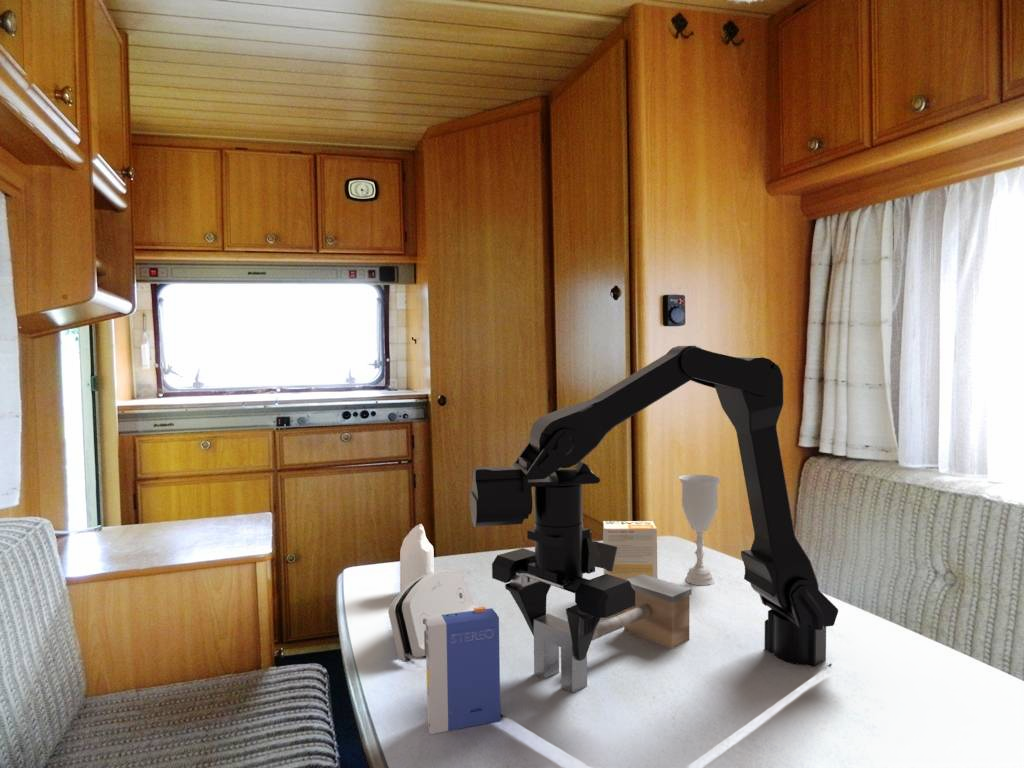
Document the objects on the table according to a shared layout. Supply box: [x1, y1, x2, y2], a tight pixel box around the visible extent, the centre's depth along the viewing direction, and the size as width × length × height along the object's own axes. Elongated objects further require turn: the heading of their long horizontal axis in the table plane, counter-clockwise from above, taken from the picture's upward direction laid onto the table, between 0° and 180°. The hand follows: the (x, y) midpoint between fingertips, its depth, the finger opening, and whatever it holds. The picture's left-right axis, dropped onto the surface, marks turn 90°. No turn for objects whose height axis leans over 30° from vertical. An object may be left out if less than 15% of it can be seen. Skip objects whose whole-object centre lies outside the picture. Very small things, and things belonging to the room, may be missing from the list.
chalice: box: [678, 474, 721, 586], centre depth 118 cm, size 7×7×18 cm
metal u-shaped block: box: [533, 613, 588, 694], centre depth 81 cm, size 6×2×7 cm, turn 41°
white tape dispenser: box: [388, 569, 479, 662], centre depth 96 cm, size 17×5×10 cm, turn 157°
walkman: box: [424, 606, 501, 735], centre depth 74 cm, size 8×3×12 cm, turn 107°
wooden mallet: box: [591, 574, 693, 649], centre depth 90 cm, size 18×8×8 cm, turn 132°
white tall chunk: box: [399, 523, 435, 592], centre depth 113 cm, size 6×12×6 cm
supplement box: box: [602, 520, 659, 580], centre depth 107 cm, size 8×5×13 cm, turn 84°
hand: (560, 650), depth 81 cm, fingers closed on metal u-shaped block, 6 cm apart
